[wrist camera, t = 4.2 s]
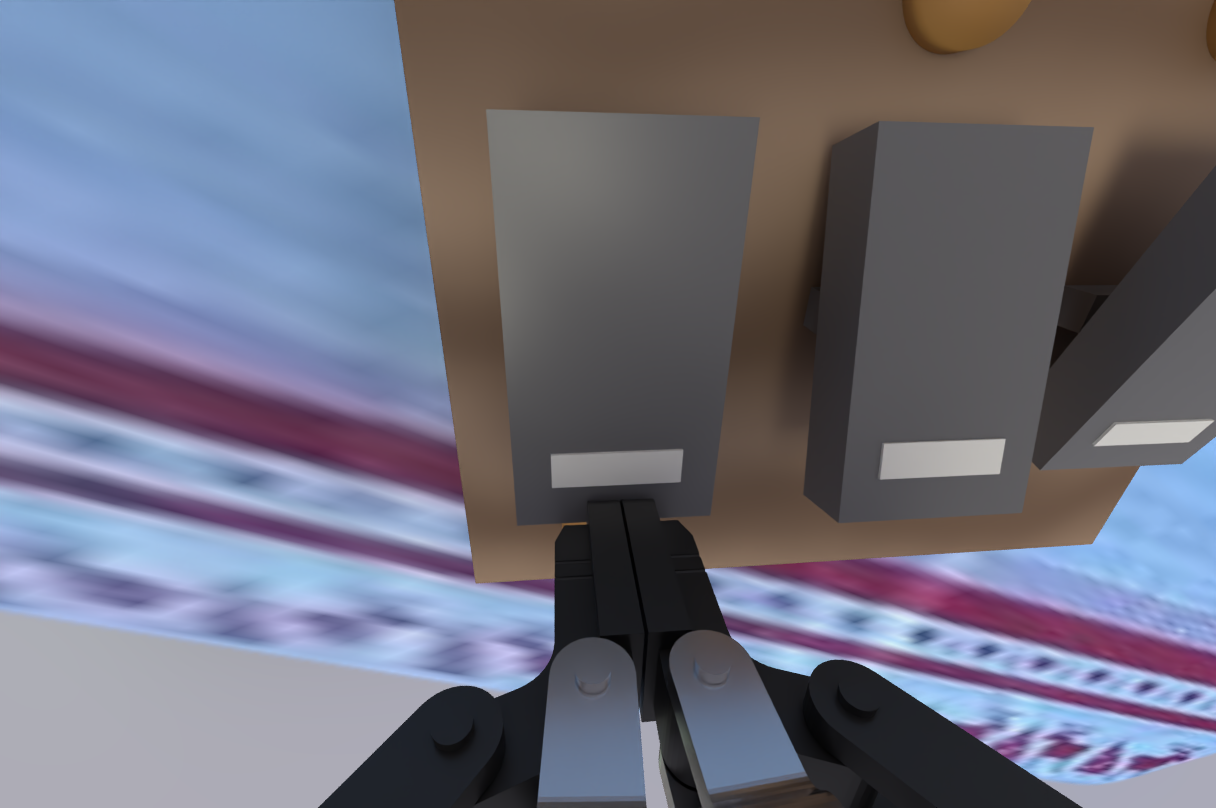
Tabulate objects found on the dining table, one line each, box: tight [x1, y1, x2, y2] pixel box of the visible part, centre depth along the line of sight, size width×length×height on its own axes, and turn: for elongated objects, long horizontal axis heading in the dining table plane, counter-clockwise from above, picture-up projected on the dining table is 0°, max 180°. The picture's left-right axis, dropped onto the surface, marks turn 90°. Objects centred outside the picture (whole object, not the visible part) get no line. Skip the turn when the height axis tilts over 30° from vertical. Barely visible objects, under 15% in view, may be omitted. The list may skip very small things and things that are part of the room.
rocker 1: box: [486, 109, 760, 526], centre depth 10 cm, size 8×4×2 cm, turn 179°
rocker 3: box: [1032, 166, 1216, 470], centre depth 12 cm, size 8×4×2 cm, turn 179°
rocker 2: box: [803, 121, 1094, 523], centre depth 11 cm, size 8×4×2 cm, turn 179°
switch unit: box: [394, 0, 1216, 583], centre depth 14 cm, size 18×22×5 cm
